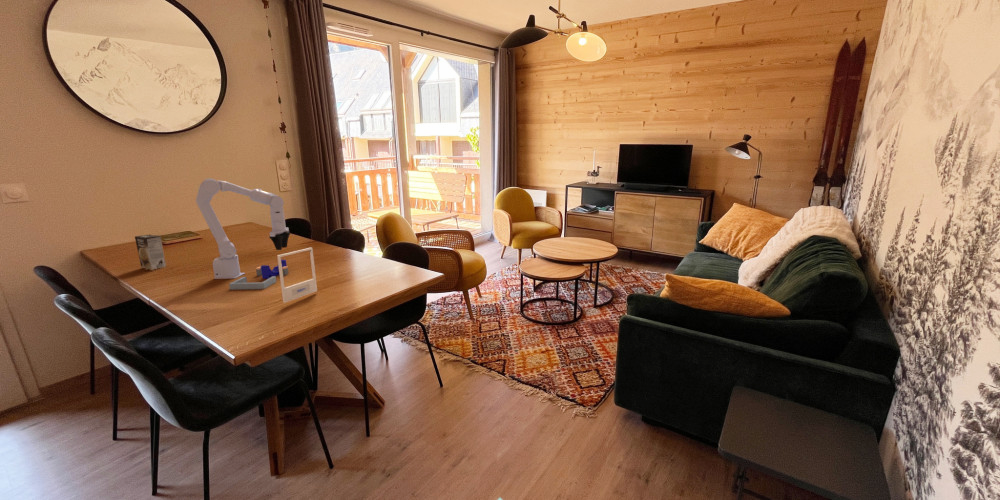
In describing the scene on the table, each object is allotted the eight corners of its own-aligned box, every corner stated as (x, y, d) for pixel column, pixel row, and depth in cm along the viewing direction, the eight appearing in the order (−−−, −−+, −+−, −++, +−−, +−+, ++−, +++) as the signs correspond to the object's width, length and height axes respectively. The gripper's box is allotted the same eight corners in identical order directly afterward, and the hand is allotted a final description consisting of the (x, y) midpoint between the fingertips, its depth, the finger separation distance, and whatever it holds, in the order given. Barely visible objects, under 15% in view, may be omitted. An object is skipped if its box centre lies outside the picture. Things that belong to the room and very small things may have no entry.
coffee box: (140, 268, 196) (133, 236, 192) (155, 265, 202) (149, 234, 198) (152, 270, 193) (145, 237, 189) (167, 267, 198) (160, 235, 195)
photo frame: (285, 302, 148) (279, 255, 144) (283, 302, 149) (277, 255, 145) (317, 291, 161) (312, 247, 157) (315, 290, 162) (310, 247, 158)
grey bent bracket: (229, 289, 164) (228, 283, 163) (243, 282, 174) (243, 276, 173) (264, 288, 164) (263, 283, 164) (276, 281, 174) (275, 276, 174)
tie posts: (256, 276, 183) (255, 268, 182) (260, 274, 186) (259, 266, 185) (285, 275, 183) (284, 267, 183) (288, 273, 186) (288, 266, 186)
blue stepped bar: (279, 271, 191) (277, 259, 189) (287, 272, 190) (285, 259, 189) (259, 278, 179) (257, 265, 178) (268, 279, 178) (266, 266, 177)
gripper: (279, 222, 183) (283, 251, 186) (293, 218, 197) (296, 245, 200) (263, 223, 183) (267, 252, 186) (279, 218, 197) (282, 245, 200)
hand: (281, 248), depth 193 cm, fingers open, 5 cm apart
